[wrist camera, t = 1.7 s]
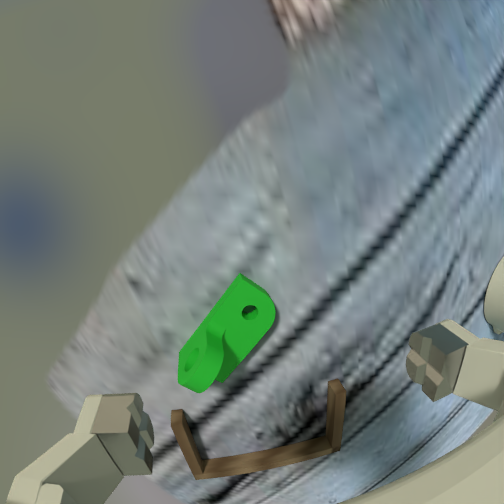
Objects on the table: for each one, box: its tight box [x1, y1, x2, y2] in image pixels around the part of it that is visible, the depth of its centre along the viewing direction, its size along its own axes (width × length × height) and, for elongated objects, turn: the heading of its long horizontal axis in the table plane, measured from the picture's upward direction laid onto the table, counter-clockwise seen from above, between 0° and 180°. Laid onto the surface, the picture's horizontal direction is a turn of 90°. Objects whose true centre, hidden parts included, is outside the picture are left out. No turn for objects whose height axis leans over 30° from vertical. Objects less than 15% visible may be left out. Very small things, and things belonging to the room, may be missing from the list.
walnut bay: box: [171, 379, 346, 480], centre depth 39 cm, size 23×14×3 cm, turn 97°
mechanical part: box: [178, 273, 275, 393], centre depth 32 cm, size 12×6×8 cm, turn 143°
